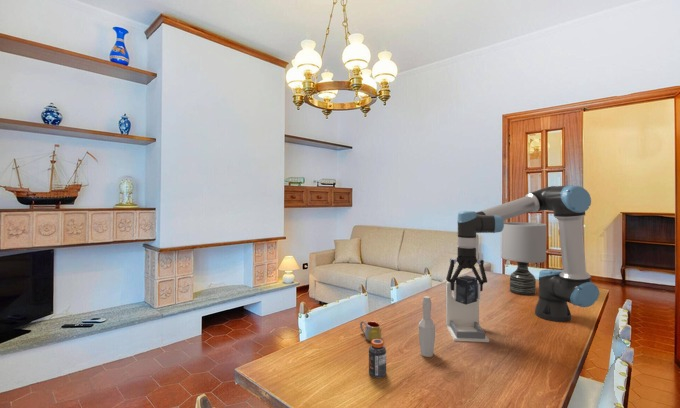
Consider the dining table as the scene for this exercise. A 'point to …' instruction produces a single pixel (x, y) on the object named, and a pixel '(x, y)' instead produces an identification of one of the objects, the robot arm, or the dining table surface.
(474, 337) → the white l-bracket
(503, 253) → the lamp
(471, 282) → the box
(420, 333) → the low poly bottle
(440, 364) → the dining table surface
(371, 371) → the pill bottle
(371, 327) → the mug
